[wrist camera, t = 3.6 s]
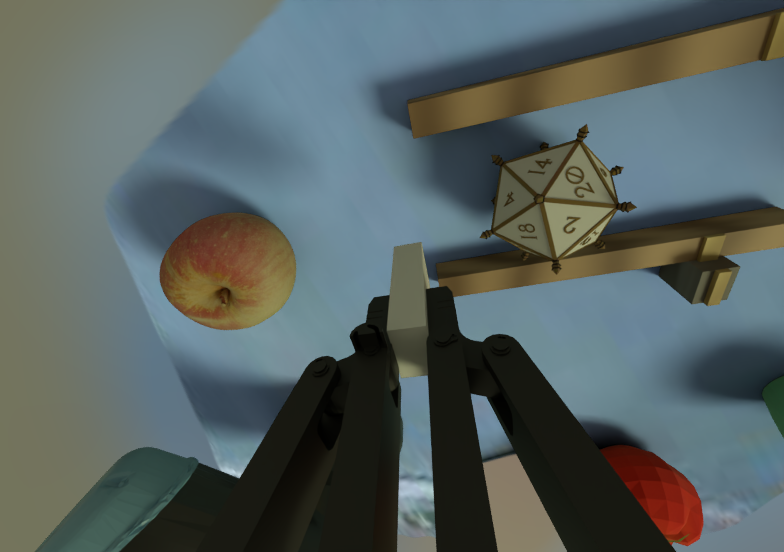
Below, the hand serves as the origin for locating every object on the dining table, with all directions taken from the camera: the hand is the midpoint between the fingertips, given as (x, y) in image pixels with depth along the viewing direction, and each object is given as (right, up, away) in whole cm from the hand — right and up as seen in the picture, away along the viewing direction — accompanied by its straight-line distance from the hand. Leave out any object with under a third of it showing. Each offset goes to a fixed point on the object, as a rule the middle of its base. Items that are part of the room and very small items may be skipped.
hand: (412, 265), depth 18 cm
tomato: (+28, -26, +27) cm, 47 cm away
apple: (-13, +2, +11) cm, 17 cm away
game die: (+9, +6, +7) cm, 13 cm away
